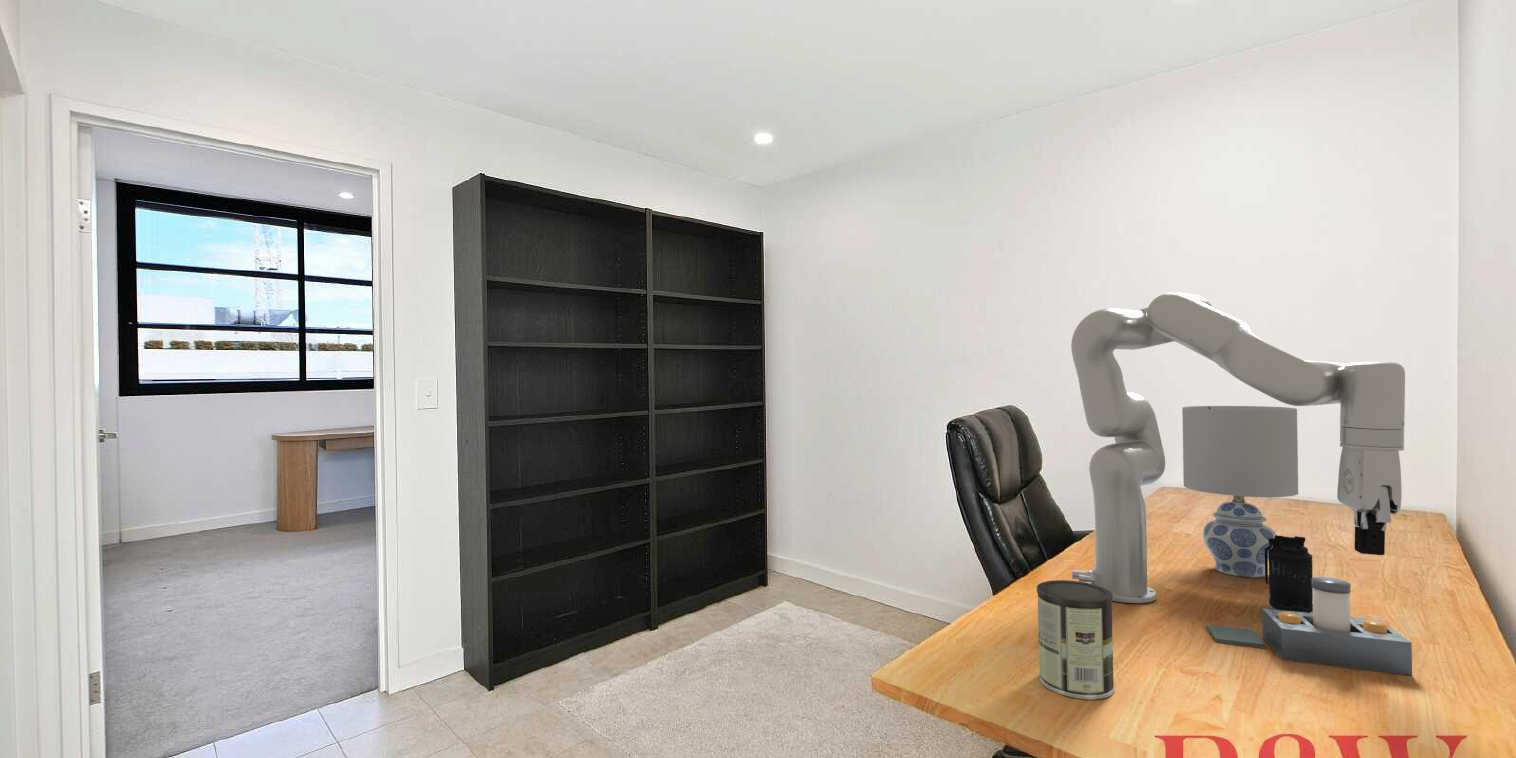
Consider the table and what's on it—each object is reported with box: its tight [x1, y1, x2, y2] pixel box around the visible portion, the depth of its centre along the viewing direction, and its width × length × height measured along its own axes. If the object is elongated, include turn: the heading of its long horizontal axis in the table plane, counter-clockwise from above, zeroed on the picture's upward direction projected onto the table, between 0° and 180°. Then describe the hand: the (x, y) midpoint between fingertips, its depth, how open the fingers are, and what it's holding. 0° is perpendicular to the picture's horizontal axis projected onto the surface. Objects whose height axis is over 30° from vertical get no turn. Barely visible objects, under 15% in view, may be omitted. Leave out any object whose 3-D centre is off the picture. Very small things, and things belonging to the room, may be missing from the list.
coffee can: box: [1036, 579, 1115, 701], centre depth 99 cm, size 10×10×14 cm
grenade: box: [1264, 534, 1314, 613], centre depth 126 cm, size 7×7×15 cm
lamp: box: [1181, 405, 1299, 578], centre depth 153 cm, size 22×22×38 cm
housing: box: [1261, 607, 1413, 677], centre depth 108 cm, size 16×10×5 cm, turn 67°
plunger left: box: [1279, 612, 1301, 624], centre depth 110 cm, size 3×3×5 cm
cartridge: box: [1312, 576, 1352, 632], centre depth 108 cm, size 5×5×12 cm
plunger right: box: [1363, 620, 1388, 633], centre depth 105 cm, size 3×3×5 cm
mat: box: [1205, 624, 1266, 649], centre depth 115 cm, size 7×7×1 cm
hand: (1369, 552), depth 106 cm, fingers closed
